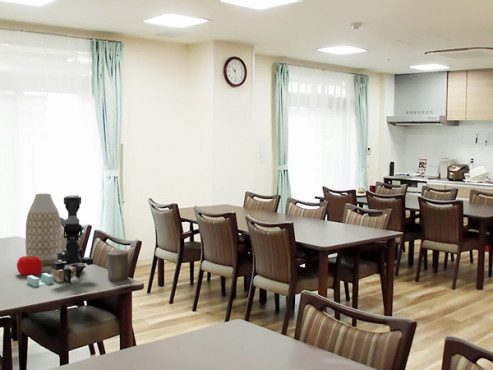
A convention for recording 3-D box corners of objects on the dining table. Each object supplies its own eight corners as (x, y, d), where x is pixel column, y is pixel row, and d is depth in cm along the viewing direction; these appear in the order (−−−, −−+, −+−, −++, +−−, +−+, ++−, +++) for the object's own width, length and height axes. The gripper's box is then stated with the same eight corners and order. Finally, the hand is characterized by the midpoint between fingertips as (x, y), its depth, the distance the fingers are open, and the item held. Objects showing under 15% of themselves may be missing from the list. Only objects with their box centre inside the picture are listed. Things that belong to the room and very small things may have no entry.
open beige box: (68, 276, 270) (68, 264, 270) (77, 280, 264) (76, 268, 264) (50, 279, 264) (50, 267, 264) (59, 283, 258) (59, 271, 257)
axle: (56, 276, 266) (56, 269, 266) (63, 275, 269) (63, 268, 268) (71, 284, 255) (71, 277, 254) (78, 283, 257) (78, 276, 257)
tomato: (35, 279, 265) (34, 258, 264) (11, 277, 268) (11, 257, 267) (47, 273, 276) (47, 253, 275) (25, 272, 279) (25, 252, 278)
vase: (51, 267, 289) (50, 196, 286) (19, 266, 292) (17, 195, 288) (68, 260, 307) (67, 193, 304) (37, 258, 310) (36, 192, 307)
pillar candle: (132, 280, 266) (132, 249, 265) (115, 283, 259) (114, 252, 258) (120, 276, 272) (120, 246, 271) (103, 280, 265) (103, 249, 264)
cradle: (46, 281, 261) (46, 272, 261) (53, 284, 255) (53, 276, 255) (27, 284, 255) (27, 275, 254) (34, 288, 249) (34, 279, 249)
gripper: (82, 243, 268) (83, 275, 270) (45, 248, 255) (46, 281, 257) (94, 247, 260) (94, 279, 262) (56, 252, 247) (57, 286, 249)
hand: (73, 281), depth 257 cm, fingers closed on axle, 3 cm apart
